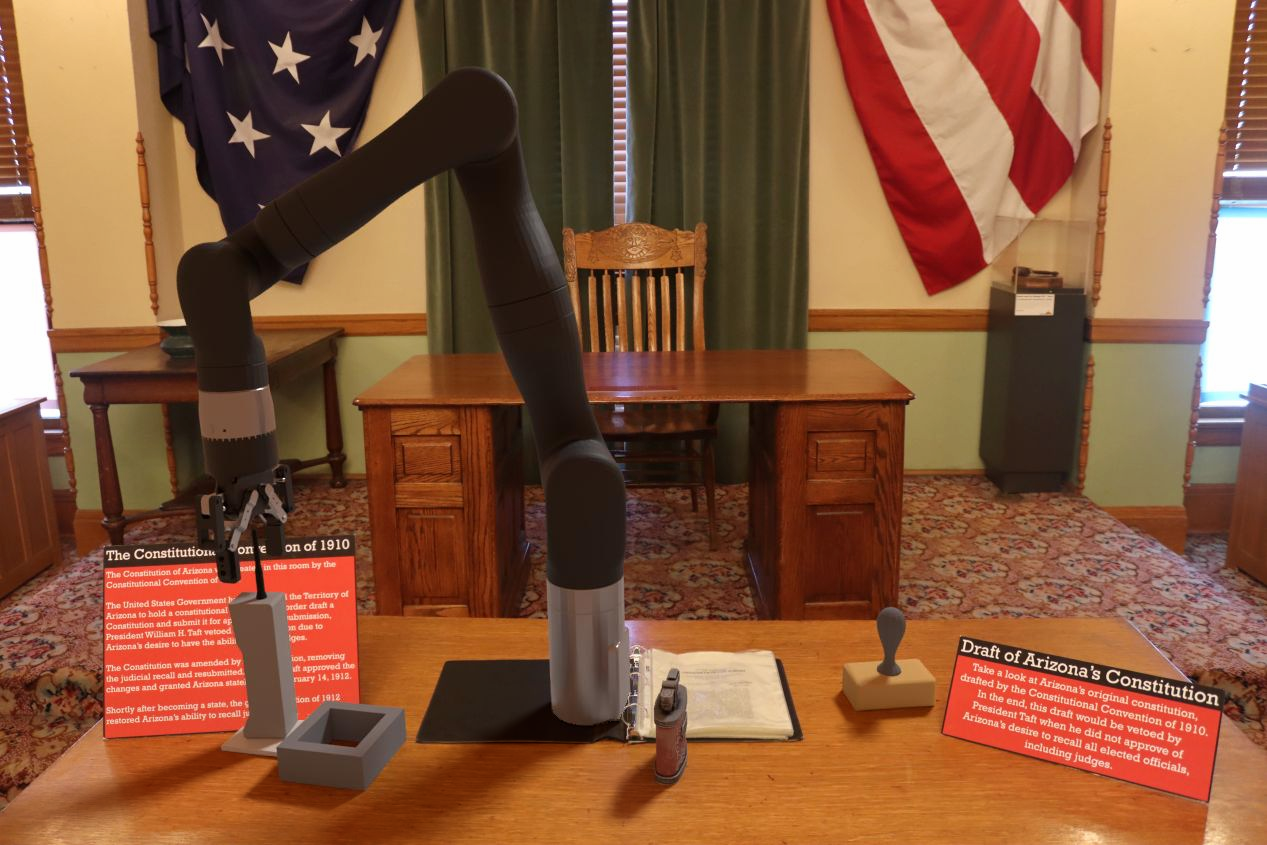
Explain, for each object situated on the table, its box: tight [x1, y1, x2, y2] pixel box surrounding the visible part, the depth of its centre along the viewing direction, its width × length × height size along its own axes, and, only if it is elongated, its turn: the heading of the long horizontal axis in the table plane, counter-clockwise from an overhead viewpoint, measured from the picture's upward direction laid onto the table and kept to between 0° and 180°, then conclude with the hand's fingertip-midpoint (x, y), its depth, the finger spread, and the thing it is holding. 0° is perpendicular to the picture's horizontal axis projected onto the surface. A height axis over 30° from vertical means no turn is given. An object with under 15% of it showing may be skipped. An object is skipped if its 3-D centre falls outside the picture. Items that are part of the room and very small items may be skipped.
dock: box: [276, 700, 408, 792], centre depth 103 cm, size 10×10×4 cm
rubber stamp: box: [841, 606, 937, 712], centre depth 114 cm, size 10×6×12 cm, turn 96°
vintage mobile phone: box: [227, 528, 299, 738], centre depth 106 cm, size 4×5×25 cm
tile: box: [220, 720, 304, 758], centre depth 109 cm, size 8×8×1 cm
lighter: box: [653, 667, 689, 786], centre depth 101 cm, size 8×3×10 cm, turn 168°
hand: (254, 567), depth 104 cm, fingers open, 8 cm apart
